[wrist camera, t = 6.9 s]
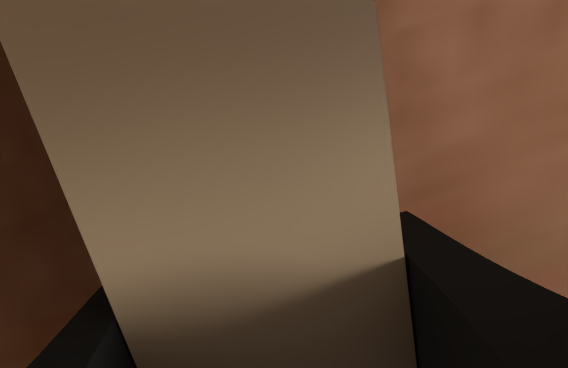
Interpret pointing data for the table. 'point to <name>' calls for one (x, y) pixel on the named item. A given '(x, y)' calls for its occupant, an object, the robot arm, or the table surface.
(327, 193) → the walnut rail
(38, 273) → the table surface
